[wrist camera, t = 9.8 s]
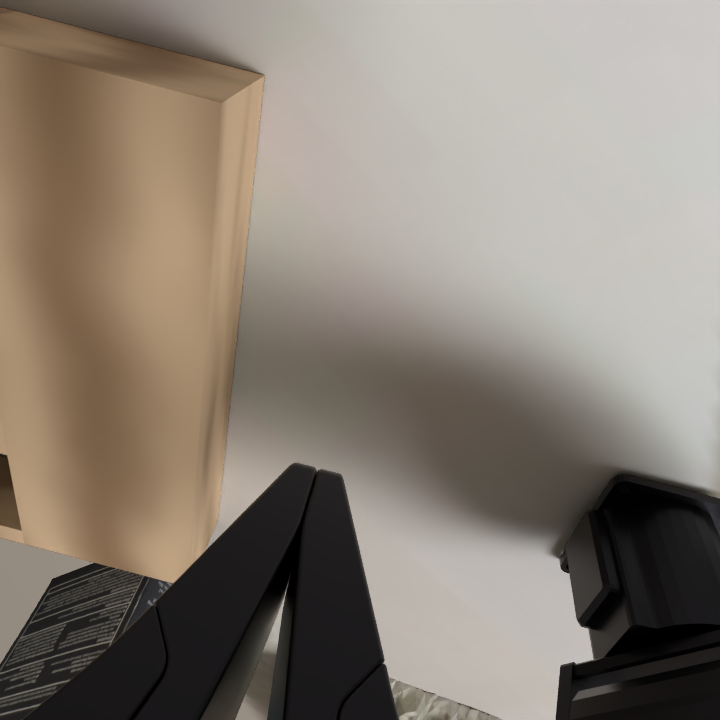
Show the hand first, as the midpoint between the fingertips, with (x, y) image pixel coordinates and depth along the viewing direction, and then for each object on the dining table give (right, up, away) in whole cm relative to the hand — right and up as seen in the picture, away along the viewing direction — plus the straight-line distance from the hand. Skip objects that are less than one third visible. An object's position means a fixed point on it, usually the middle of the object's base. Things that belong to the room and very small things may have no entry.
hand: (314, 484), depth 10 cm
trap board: (-15, +5, +15) cm, 22 cm away
